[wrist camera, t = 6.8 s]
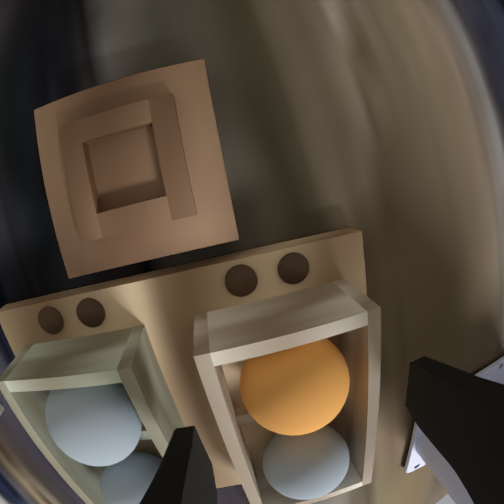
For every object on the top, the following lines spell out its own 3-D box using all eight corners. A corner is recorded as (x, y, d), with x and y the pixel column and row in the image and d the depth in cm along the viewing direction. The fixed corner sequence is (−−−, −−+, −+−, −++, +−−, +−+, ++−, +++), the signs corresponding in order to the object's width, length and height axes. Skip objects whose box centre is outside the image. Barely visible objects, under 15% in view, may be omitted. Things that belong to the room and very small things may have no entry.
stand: (203, 71, 11) (204, 52, 9) (234, 231, 12) (241, 243, 10) (50, 115, 10) (26, 107, 8) (82, 267, 12) (63, 284, 10)
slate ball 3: (331, 394, 14) (365, 451, 10) (333, 444, 15) (360, 496, 11) (248, 417, 14) (264, 482, 10) (263, 464, 15) (278, 521, 11)
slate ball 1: (127, 345, 12) (105, 409, 8) (159, 417, 13) (153, 484, 9) (48, 357, 11) (12, 413, 8) (85, 424, 12) (65, 483, 9)
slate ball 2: (166, 431, 13) (162, 497, 9) (191, 477, 14) (194, 535, 10) (94, 438, 13) (77, 496, 9) (126, 482, 14) (119, 536, 10)
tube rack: (351, 227, 13) (404, 248, 9) (359, 437, 17) (386, 481, 13) (6, 304, 12) (-40, 342, 8) (110, 484, 15) (102, 531, 11)
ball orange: (321, 300, 13) (368, 348, 9) (329, 378, 14) (367, 434, 10) (223, 326, 12) (235, 388, 8) (244, 402, 13) (261, 468, 9)
